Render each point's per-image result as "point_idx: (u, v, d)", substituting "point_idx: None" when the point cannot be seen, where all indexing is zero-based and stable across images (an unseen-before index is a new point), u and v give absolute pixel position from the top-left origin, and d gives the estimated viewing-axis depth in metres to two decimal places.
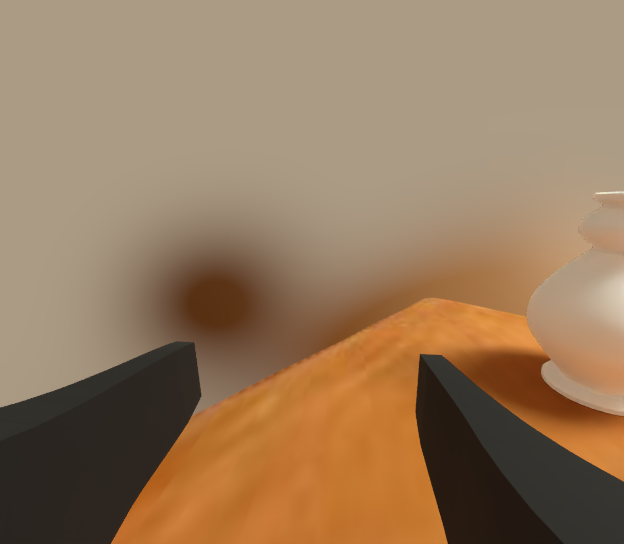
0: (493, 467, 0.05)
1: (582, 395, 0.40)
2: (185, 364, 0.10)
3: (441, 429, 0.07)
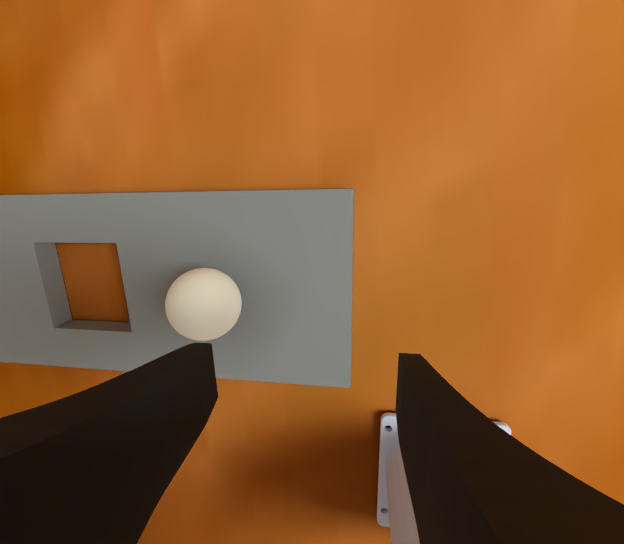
0: (451, 463, 0.05)
1: None
2: (203, 365, 0.10)
3: (414, 427, 0.07)
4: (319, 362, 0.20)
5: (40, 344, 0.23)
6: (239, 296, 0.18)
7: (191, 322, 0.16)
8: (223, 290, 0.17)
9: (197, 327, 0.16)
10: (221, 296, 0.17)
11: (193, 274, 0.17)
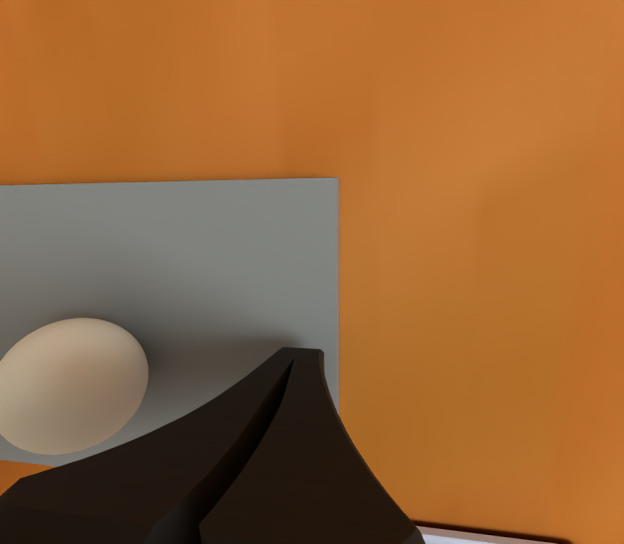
0: None
1: None
2: None
3: None
4: None
5: None
6: (137, 369, 0.10)
7: (25, 435, 0.08)
8: (95, 367, 0.09)
9: (39, 443, 0.09)
10: (89, 381, 0.09)
11: (40, 337, 0.09)
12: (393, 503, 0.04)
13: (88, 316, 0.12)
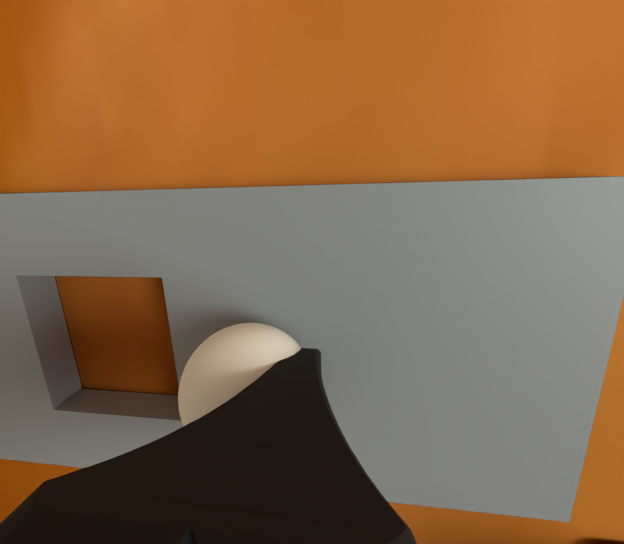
0: None
1: None
2: None
3: None
4: (518, 480, 0.12)
5: (32, 432, 0.14)
6: None
7: None
8: (205, 387, 0.08)
9: None
10: (195, 394, 0.08)
11: (225, 330, 0.10)
12: (385, 502, 0.04)
13: (315, 327, 0.11)
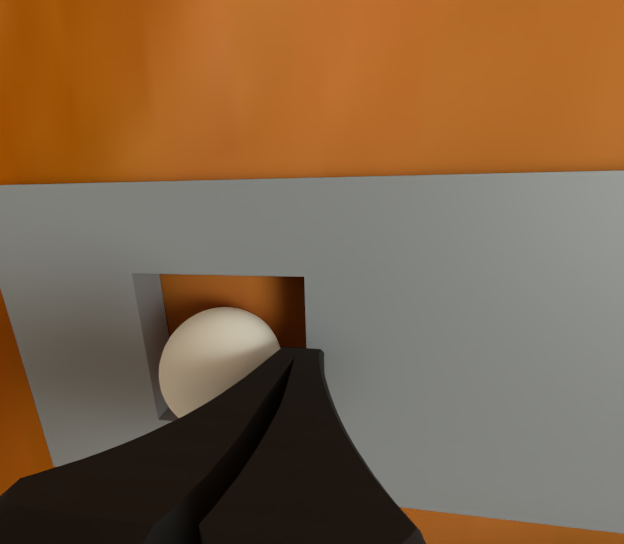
0: None
1: None
2: None
3: None
4: None
5: None
6: None
7: None
8: None
9: None
10: None
11: (236, 318, 0.10)
12: (393, 503, 0.04)
13: (480, 333, 0.10)
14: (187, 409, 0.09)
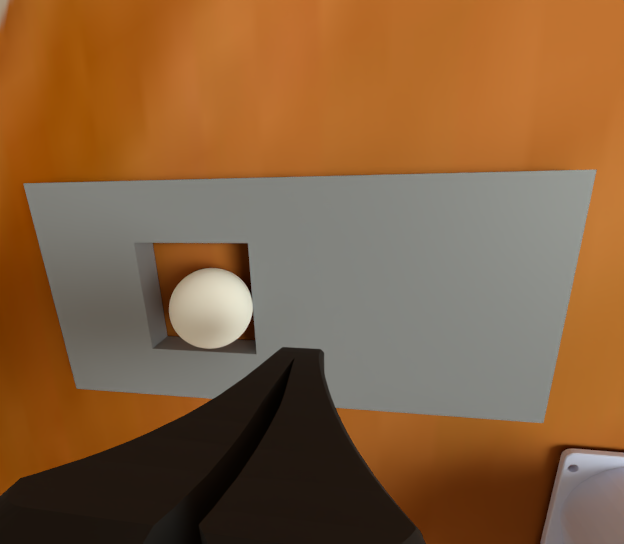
0: None
1: None
2: None
3: None
4: (506, 392, 0.16)
5: (132, 367, 0.19)
6: None
7: None
8: None
9: None
10: None
11: (222, 272, 0.16)
12: (393, 503, 0.04)
13: (361, 278, 0.15)
14: (206, 331, 0.15)
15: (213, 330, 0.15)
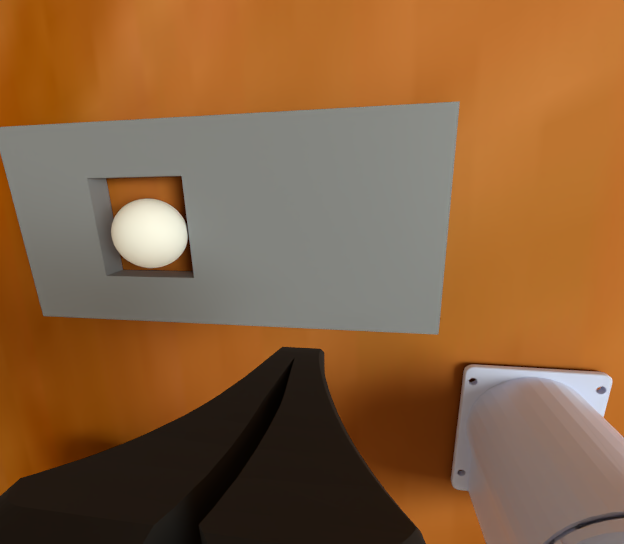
0: None
1: None
2: None
3: None
4: (405, 306, 0.18)
5: (90, 294, 0.21)
6: None
7: None
8: None
9: None
10: None
11: (157, 201, 0.18)
12: (393, 503, 0.04)
13: (276, 205, 0.18)
14: (137, 245, 0.17)
15: (143, 244, 0.17)
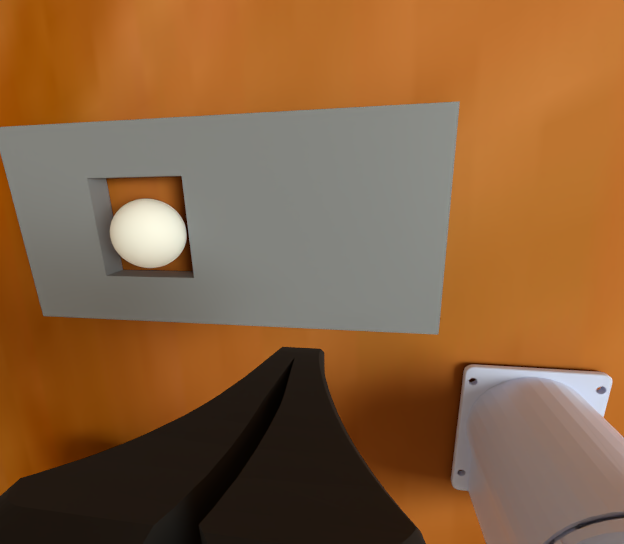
0: None
1: None
2: None
3: None
4: (405, 306, 0.18)
5: (90, 294, 0.21)
6: None
7: None
8: None
9: None
10: None
11: (156, 201, 0.18)
12: (393, 503, 0.04)
13: (276, 205, 0.18)
14: (134, 245, 0.17)
15: (140, 245, 0.17)
